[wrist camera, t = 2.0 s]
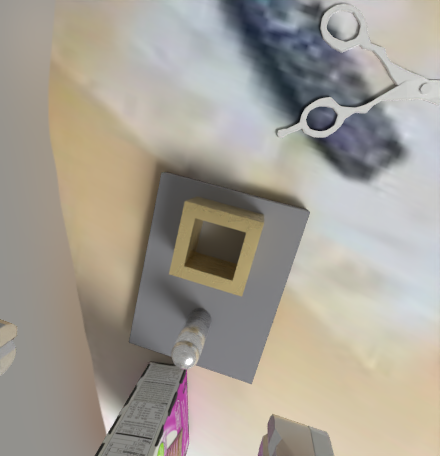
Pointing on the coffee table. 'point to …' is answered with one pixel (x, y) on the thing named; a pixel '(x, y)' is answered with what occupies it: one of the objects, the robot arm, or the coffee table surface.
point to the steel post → (191, 339)
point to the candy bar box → (152, 416)
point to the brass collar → (206, 265)
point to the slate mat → (207, 296)
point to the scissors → (404, 80)
